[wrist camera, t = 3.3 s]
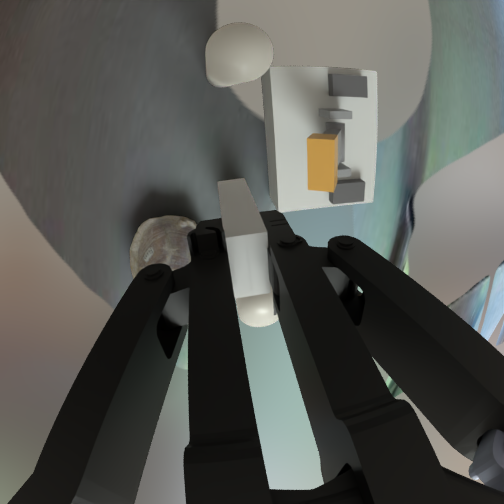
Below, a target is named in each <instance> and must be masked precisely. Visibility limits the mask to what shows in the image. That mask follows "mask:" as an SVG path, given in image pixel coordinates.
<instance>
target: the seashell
mask: <svg viewBox="0 0 504 504" xmlns="http://www.w3.org/2000/svg"><path fill="white" fill-rule="evenodd" d="M193 229H196V222H195V221H194V220H191V219H188V218H187V217H182V216H174V215H166V216H163V217H157V218H150V219H148V220H146V221H145V222H143V223H142V224H141V225H140V226H139V228H138V231H137V233H136V234H135V236H134V238H133V242H132V244H131V246H130V266H131V272H132V276H133V279H134V278H135V276H136V275H137V273H138V272H139V271H140V270H141V269H143V268H145V267H146V266H148V265H151V264H157V263H162V264H167V265H169V266H170V267H171V269H172V271H173V270H176V269H179V268H181V267H184V266H185V265H187V264H189V263H190V262H191V255H190V251H189V246H188V241H187V235H188V233H189V232H190V231H192V230H193Z"/></svg>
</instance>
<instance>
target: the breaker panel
mask: <svg viewBox="0 0 504 504" xmlns="http://www.w3.org/2000/svg"><path fill="white" fill-rule="evenodd" d="M261 80H262V93H263V105H264V119H265V132H266V147H267V161H268V177H269V193H270V198H271V200H272V202H273V204H274V205H275V207H276V209H277V211H279V212H280V213H281V212H288V211H297V210H305V209H314V208H323V207H332V206H341V205H351V204H360V203H371V202H373V195H374V184H375V170H376V153H377V123H378V121H377V120H378V96H377V95H378V92H377V71H371V70H362V69H351V68H338V67H319V66H270V67H269V69H268V70H267V71H266V73H264V74H263V75H262V76H261ZM325 122H342V123H345V161H344V162H341V163H339V165H338V175H337V185H336V187H335V190H334V192H324V191H314V190H308V172H307V138H308V137H309V136H310V135H311V134H312V133H319V134H322V133H323V132H324V131H325Z"/></svg>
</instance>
